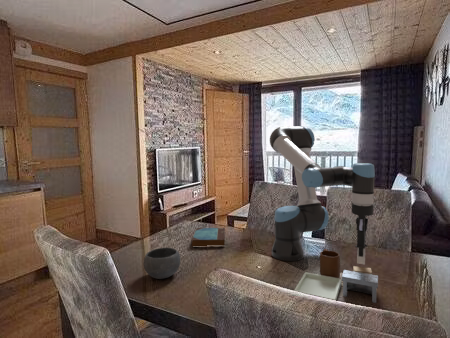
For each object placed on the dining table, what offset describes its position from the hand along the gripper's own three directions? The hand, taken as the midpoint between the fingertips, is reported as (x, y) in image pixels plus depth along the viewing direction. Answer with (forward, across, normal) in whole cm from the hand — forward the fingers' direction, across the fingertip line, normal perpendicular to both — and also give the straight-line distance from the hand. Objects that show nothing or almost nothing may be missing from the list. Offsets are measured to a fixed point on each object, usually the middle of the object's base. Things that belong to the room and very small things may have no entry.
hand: (360, 263), depth 110 cm
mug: (+7, -1, +12) cm, 14 cm away
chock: (+6, -5, -1) cm, 8 cm away
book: (+9, +14, +79) cm, 81 cm away
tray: (+6, -16, +13) cm, 21 cm away
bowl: (+8, -33, +72) cm, 80 cm away
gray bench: (+6, -12, -1) cm, 14 cm away
